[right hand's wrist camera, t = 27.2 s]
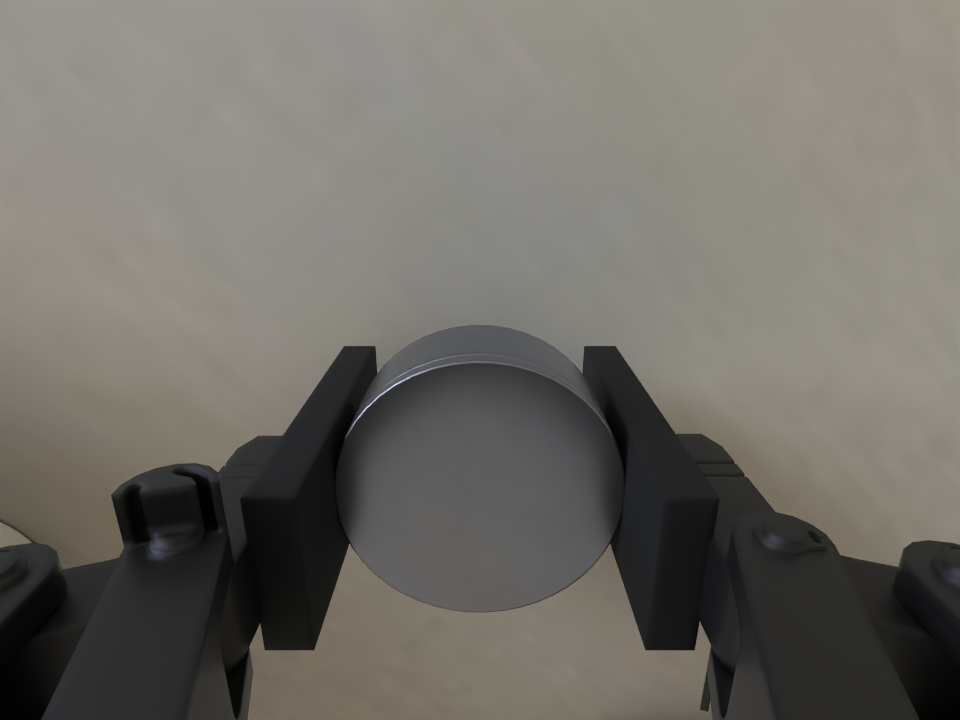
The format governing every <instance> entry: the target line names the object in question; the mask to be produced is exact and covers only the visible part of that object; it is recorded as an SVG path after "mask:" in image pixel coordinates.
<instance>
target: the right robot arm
mask: <svg viewBox="0 0 960 720" xmlns="http://www.w3.org/2000/svg"><path fill="white" fill-rule="evenodd" d="M376 375H377V365H376V350H375V346H344V347H343V349H342V350H341V352H340V353H339V355H338V356H337V358H336V359H335V361H334V362H333V364H332V365H331V366H330V368H329V369H328V371H327V372H326V374H325V375H324V377H323V378H322V380H321V381H320V382H319V384H318V385H317V387H316V388H315V390H314V391H313V393H312V394H311V396H310V397H309V399H308V400H307V401H306V403H305V404H304V406H303V407H302V409H301V410H300V412H299V413H298V415H297V416H296V417H295V419H294V420H293V422H292V423H291V425H290V426H289V428H288V429H287V431H286V432H285V433H284V435H283V436H257V437H256V438H254V439H253V440H251V441H249V442H248V443H246V444H244V445H243V446H241V447H240V448H238V449H237V450H236V451H235V453H234V454H233V455H232V456H231V458H230V459H229V460H228V461H227V463H226V466H223V467H222V469H221V470H220V471H219V472H216V471H215V470H214V469H212V468H211V467H210V466H205V465H200V464H196V463H193V464H175V465H170V466H165V467H160V468H156V469H153V470H150V471H148V472H145V473H142V474H139V475H137V476H135V477H134V478H132V479H130V480H129V481H127V482H125V483H123V484H122V485H121V486H120V487H119V488H118V489H117V490H116V491H115V492H114V493H113V494H112V495H111V496H112V500H113V504H114V508H115V512H116V516H117V520H118V524H119V528H120V532H121V536H122V540H123V544H124V549H123V551H122V553H121V555H120V558H116V559H112V560H109V561H104V562H99V563H94V564H89V565H84V566H79V567H74V568H69V569H64V570H62V568H61V564H60V561H59V558H58V554H57V552H56V551H55V550H54V549H52V548H51V547H50V546H48V545H43V544H35V543H28V544H20V545H10V546H6V547H1V548H0V720H247V717H248V709H249V701H250V693H251V684H252V676H253V668H252V661H251V655H250V650H249V646H250V644H251V641H252V639H253V637H254V635H255V633H256V631H257V628H258V626H259V624H260V623H261V629H262V635H263V641H264V647H265V650H314V649H315V646H316V643H317V640H318V637H319V634H320V631H321V628H322V625H323V622H324V619H325V616H326V613H327V610H328V607H329V604H330V600H331V597H332V594H333V591H334V588H335V585H336V582H337V579H338V576H339V573H340V570H341V567H342V564H343V561H344V558H345V555H346V552H347V549H348V546H349V541H348V539H347V537H346V536H345V534H344V531H343V528H342V526H341V523H340V521H339V518H338V513H337V506H336V496H335V485H334V474H335V467H336V462H337V458H338V454H339V451H340V448H341V446H342V443H343V441H344V438H345V436H346V434H347V432H348V430H349V428H350V425H351V423H352V421H353V419H354V417H355V415H356V413H357V410H358V408H359V406H360V404H361V402H362V400H363V398H364V396H365V393H366V391H367V389H368V388H369V386H370V384H371V383H372V381H373V379H374V378H375V376H376ZM583 376H584V377H585V379H586V380H587V381H588V383H589V385H590V387H591V389H592V391H593V393H594V394H595V397H596V399H597V401H598V403H599V405H600V407H601V409H602V411H603V414H604V416H605V418H606V420H607V422H608V424H609V426H610V429H611V431H612V433H613V435H614V437H615V439H616V441H617V444H618V447H619V450H620V453H621V456H622V459H623V465H624V470H625V492H624V502H623V511H622V515H621V519H620V522H619V525H618V527H617V530H616V532H615V534H614V537H613V539H612V540H611V542H610V544H611V547H612V550H613V553H614V556H615V559H616V562H617V565H618V568H619V571H620V574H621V577H622V580H623V583H624V586H625V589H626V592H627V596H628V599H629V602H630V605H631V608H632V611H633V614H634V617H635V620H636V623H637V626H638V629H639V632H640V635H641V638H642V641H643V644H644V647H645V650H695V645H696V639H697V633H698V627H699V621H700V622H701V624H702V626H703V629H704V631H705V633H706V635H707V637H708V639H709V641H710V644H711V650H710V655H709V661H708V667H707V672H706V678H705V683H704V689H703V695H702V701H701V708H700V710H704V711H708V710H709V704H710V699H711V708H712V716H713V720H960V545H958V544H954V543H948V542H947V543H946V542H938V541H930V540H927V541H920V542H912V543H911V544H910V545H908V546H907V547H906V548H904V549H903V553H902V556H901V559H900V563H899V566H898V567H894V566H889V565H884V564H879V563H874V562H869V561H864V560H859V559H854V558H850V557H846V556H842V555H840V554H839V552H838V550H837V548H836V546H835V545H834V544H833V543H832V541H831V540H830V539H829V538H828V536H827V535H826V534H824V533H823V532H822V531H820V530H819V529H817V528H816V527H814V526H813V525H811V524H809V523H807V522H805V521H802V520H800V519H798V518H795V517H793V516H789V515H785V514H781V513H776V512H775V511H774V510H773V508H772V507H771V506H770V505H769V504H768V502H767V501H766V500H765V499H764V497H763V496H762V495H761V494H760V493H759V491H758V490H757V489H756V488H755V486H754V485H753V484H752V483H751V481H750V480H749V479H748V478H747V477H744V473H743V472H742V470H741V469H740V468H739V467H738V465H737V464H734V461H733V459H732V458H731V457H730V456H729V454H728V453H727V452H726V451H725V449H724V448H723V447H722V446H720V445H719V444H717V443H715V442H714V441H712V440H710V439H709V438H707V437H706V436H704V435H702V434H675V433H674V431H673V430H672V428H671V427H670V425H669V424H668V422H667V421H666V419H665V418H664V417H663V415H662V414H661V412H660V411H659V409H658V408H657V406H656V405H655V403H654V402H653V401H652V399H651V398H650V396H649V395H648V393H647V392H646V390H645V389H644V387H643V386H642V384H641V383H640V382H639V380H638V379H637V377H636V376H635V374H634V373H633V371H632V370H631V368H630V367H629V366H628V364H627V363H626V361H625V360H624V358H623V357H622V355H621V354H620V352H619V351H618V349H617V348H616V347H615V346H584V360H583Z"/></svg>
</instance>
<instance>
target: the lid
mask: <svg viewBox="0 0 960 720" xmlns="http://www.w3.org/2000/svg"><path fill="white" fill-rule="evenodd" d="M334 485H335V496H336V506H337V513H338V518H339V521H340V523H341V526H342V528H343V531H344V534H345V536H346V537H347V539H348V541H349V543H350V544H351V546H352V548H353V550H354V551H355V552H356V553H357V555H358V556H359V557H360V559H361V560H362V561H363V563H364V564H365V565H366V566H367V567H368V568H369V569H370V570H371V571H372V572H373V573H374V574H375V575H377V576H378V577H379V578H381V579H382V580H383V581H384V582H386V583H387V584H388V585H390V586H391V587H393V588H395V589H396V590H398V591H400V592H401V593H403V594H405V595H407V596H409V597H411V598H414V599H416V600H418V601H421V602H424V603H427V604H430V605H432V606H436V607H440V608H445V609H449V610H456V611H464V612H495V611H504V610H510V609H515V608H520V607H523V606H527V605H530V604H533V603H536V602H539V601H541V600H543V599H546V598H548V597H550V596H553V595H555V594H556V593H558V592H560V591H562V590H563V589H565V588H567V587H568V586H570V585H571V584H572V583H574V582H575V581H576V580H578V579H579V578H581V577H582V576H583V575H584V574H585V573H586V572H587V571H588V570H589V569H590V568H591V567H592V566H593V565H594V564H595V563H596V562H597V560H598V559H599V558H600V557H601V556H602V554H603V553H604V552H605V550H606V548H607V547H608V545H609V544H610V542H611V540H612V539H613V537H614V534H615V532H616V530H617V527H618V525H619V522H620V519H621V515H622V511H623V502H624V492H625V470H624V465H623V459H622V456H621V453H620V450H619V447H618V444H617V441H616V439H615V437H614V435H613V433H612V431H611V429H610V426H609V424H608V422H607V420H606V418H605V416H604V414H603V411H602V409H601V407H600V405H599V403H598V401H597V399H596V397H595V394H594V393H593V391H592V389H591V387H590V385H589V383H588V381H587V380H586V379H585V377H584V376H583V374H582V373H581V372H580V370H579V369H578V368H577V367H576V366H575V365H574V364H573V363H572V362H571V361H570V360H569V359H568V358H567V357H566V356H565V355H564V354H562V353H561V352H560V351H558V350H557V349H556V348H555V347H553V346H551V345H549V344H548V343H546V342H544V341H543V340H541V339H539V338H536V337H534V336H532V335H529V334H527V333H524V332H521V331H517V330H514V329H510V328H505V327H498V326H491V325H470V326H461V327H454V328H450V329H446V330H442V331H438V332H436V333H433V334H430V335H428V336H425V337H423V338H421V339H419V340H417V341H415V342H413V343H412V344H410V345H408V346H407V347H405V348H404V349H403V350H401V351H400V352H398V353H397V354H396V355H395V356H394V357H393V358H391V359H390V360H389V361H388V362H387V363H386V364H385V365H384V366H383V368H382V369H381V370H380V371H379V373H378V374H377V375H376V376H375V378H374V379H373V381H372V383H371V384H370V386H369V388H368V389H367V391H366V393H365V396H364V398H363V400H362V402H361V404H360V406H359V408H358V410H357V413H356V415H355V417H354V419H353V421H352V423H351V425H350V428H349V430H348V432H347V434H346V436H345V438H344V441H343V443H342V446H341V448H340V451H339V454H338V458H337V462H336V467H335V474H334Z"/></svg>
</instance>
